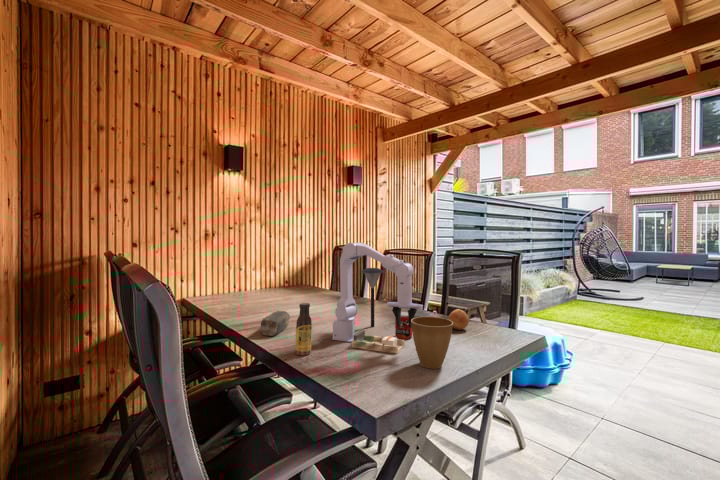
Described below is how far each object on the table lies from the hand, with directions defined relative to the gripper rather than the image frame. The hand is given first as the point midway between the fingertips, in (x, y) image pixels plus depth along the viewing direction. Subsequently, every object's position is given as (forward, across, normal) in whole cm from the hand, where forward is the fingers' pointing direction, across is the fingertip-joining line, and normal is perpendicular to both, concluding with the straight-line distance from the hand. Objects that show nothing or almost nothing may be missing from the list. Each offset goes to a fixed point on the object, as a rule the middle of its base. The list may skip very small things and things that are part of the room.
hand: (404, 326), depth 138 cm
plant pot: (+10, +14, -11) cm, 20 cm away
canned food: (+10, -6, +17) cm, 21 cm away
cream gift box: (+9, -7, 0) cm, 11 cm away
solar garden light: (+10, -26, +28) cm, 39 cm away
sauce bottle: (+10, -36, -20) cm, 42 cm away
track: (+10, -12, 0) cm, 15 cm away
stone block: (+10, -66, +1) cm, 67 cm away
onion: (+10, +16, +41) cm, 45 cm away
